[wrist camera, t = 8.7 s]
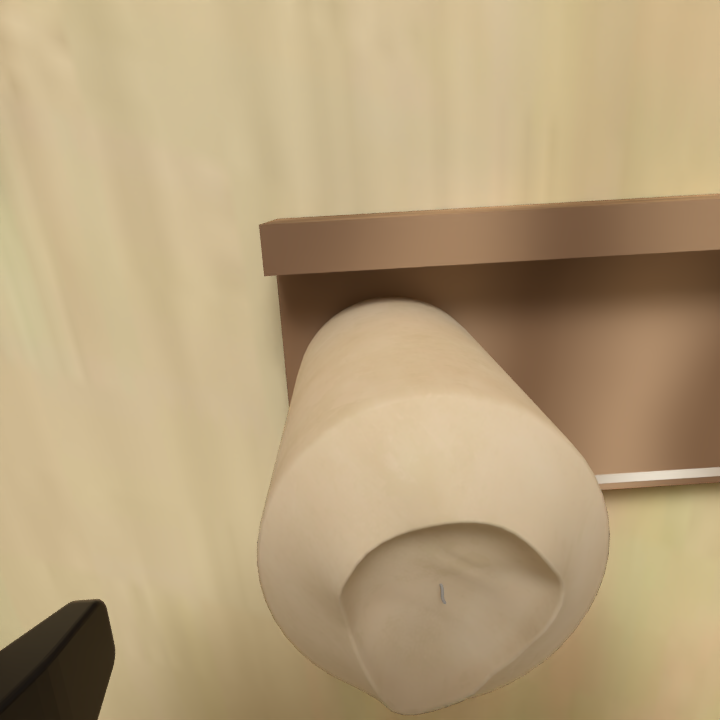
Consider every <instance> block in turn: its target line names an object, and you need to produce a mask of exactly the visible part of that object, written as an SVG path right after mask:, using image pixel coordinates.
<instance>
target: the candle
mask: <svg viewBox="0 0 720 720" xmlns="http://www.w3.org/2000/svg"><path fill="white" fill-rule="evenodd" d="M609 540H610V531H609V520H608V512H607V508H606V504H605V500H604V496H603V493H602V491H601V488H600V486H599V484H598V481H597V479H596V477H595V475H594V473H593V471H592V470H591V468H590V467H589V465H588V463H587V462H586V460H585V459H584V457H583V456H582V455H581V454H580V452H579V451H578V450H577V449H576V448H575V447H574V445H573V444H572V443H571V442H570V441H569V440H568V439H567V437H566V436H565V435H564V434H563V433H562V432H561V431H560V430H559V429H558V428H557V427H556V426H555V424H554V423H553V422H552V421H551V420H550V419H549V418H548V417H547V416H546V415H545V414H544V413H543V412H542V411H541V410H540V408H539V407H538V406H537V405H536V404H535V403H534V402H533V401H532V400H531V399H530V398H529V397H528V396H527V395H526V393H525V392H524V391H523V390H522V389H521V388H520V387H519V386H518V385H517V384H516V383H515V382H514V381H513V380H512V379H511V377H510V376H509V375H508V374H507V373H506V372H505V371H504V370H503V369H502V368H501V367H500V366H499V365H498V364H497V363H496V361H495V360H494V359H493V358H492V357H491V356H490V355H489V354H488V353H487V352H486V351H485V350H484V349H483V348H482V346H481V345H480V344H479V343H478V342H477V341H476V340H475V339H474V338H473V337H472V336H471V335H470V334H469V333H468V332H467V330H466V329H465V328H463V327H462V326H461V325H460V324H459V323H458V322H457V321H456V320H455V319H454V318H452V317H451V316H450V315H449V314H447V313H446V312H444V311H443V310H441V309H440V308H437V307H435V306H433V305H431V304H429V303H426V302H423V301H420V300H417V299H412V298H407V297H395V296H388V297H377V298H373V299H368V300H364V301H362V302H359V303H356V304H354V305H352V306H350V307H348V308H346V309H344V310H342V311H341V312H339V313H338V314H336V315H335V316H333V317H332V318H331V319H330V320H329V321H328V322H327V323H325V324H324V325H323V326H322V328H321V329H320V330H319V331H318V332H317V333H316V335H315V336H314V338H313V339H312V341H311V342H310V344H309V345H308V348H307V350H306V352H305V354H304V356H303V359H302V362H301V366H300V369H299V372H298V375H297V379H296V383H295V387H294V391H293V395H292V399H291V403H290V407H289V411H288V415H287V419H286V423H285V427H284V431H283V435H282V439H281V442H280V446H279V450H278V454H277V458H276V462H275V466H274V470H273V474H272V478H271V482H270V486H269V490H268V494H267V498H266V502H265V506H264V510H263V514H262V518H261V523H260V529H259V535H258V541H257V566H258V573H259V579H260V584H261V588H262V591H263V594H264V598H265V601H266V603H267V605H268V607H269V610H270V612H271V614H272V616H273V618H274V620H275V621H276V623H277V624H278V626H279V627H280V629H281V630H282V632H283V633H284V635H285V636H286V637H287V638H288V640H289V641H290V642H291V643H292V644H293V645H294V646H295V647H296V649H297V650H298V651H299V652H301V653H302V654H303V655H304V656H305V657H306V658H308V659H309V660H310V661H311V662H312V663H313V664H315V665H316V666H318V667H319V668H321V669H322V670H324V671H326V672H327V673H329V674H330V675H332V676H334V677H336V678H338V679H340V680H342V681H344V682H346V683H348V684H350V685H352V686H354V687H356V688H358V689H360V690H362V691H364V692H366V693H367V694H369V695H371V696H372V697H374V698H376V699H377V700H379V701H380V702H381V703H383V704H384V705H385V706H386V707H387V708H388V709H390V710H391V711H392V712H395V713H398V714H401V715H418V714H423V713H428V712H432V711H436V710H439V709H442V708H445V707H448V706H451V705H454V704H457V703H459V702H462V701H464V700H465V699H470V698H474V697H477V696H480V695H483V694H486V693H489V692H492V691H494V690H496V689H498V688H501V687H503V686H505V685H507V684H509V683H511V682H513V681H515V680H516V679H518V678H520V677H522V676H524V675H525V674H527V673H528V672H530V671H531V670H532V669H534V668H535V667H537V666H538V665H540V664H541V663H542V662H544V661H545V660H546V659H547V658H548V657H550V656H551V655H552V654H553V653H554V652H555V651H556V650H557V649H559V647H560V646H561V645H562V644H563V643H564V642H565V641H566V640H567V639H568V637H569V636H570V635H571V634H572V633H573V632H574V630H575V629H576V628H577V626H578V625H579V623H580V622H581V620H582V619H583V617H584V616H585V615H586V613H587V612H588V610H589V608H590V606H591V604H592V603H593V601H594V599H595V597H596V595H597V593H598V590H599V588H600V585H601V582H602V579H603V577H604V574H605V569H606V564H607V560H608V555H609Z"/></svg>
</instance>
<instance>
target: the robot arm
mask: <svg viewBox="0 0 720 720" xmlns="http://www.w3.org/2000/svg"><path fill="white" fill-rule="evenodd" d="M114 660H115V645H114V640H113V635H112V631H111V626H110V621H109V616H108V612H107V608H106V605H105V603H104V602H103V601H101V600H100V599H91V600H77V601H72V602H70V603H68V604H67V605H65V606H64V607H62V608H61V609H59V610H58V611H57V612H55V613H54V614H52V615H51V616H49V617H48V618H47V619H45V620H44V621H42V622H41V623H39V624H38V625H37V626H35V627H34V628H32V629H31V630H29V631H28V632H27V633H25V634H24V635H22V636H21V637H19V638H18V639H17V640H15V641H14V642H12V643H11V644H9V645H8V646H6V647H5V648H4V649H2V650H1V651H0V720H98V716H99V713H100V710H101V706H102V703H103V700H104V696H105V693H106V689H107V686H108V683H109V679H110V676H111V672H112V669H113V665H114Z"/></svg>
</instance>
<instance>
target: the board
mask: <svg viewBox="0 0 720 720" xmlns="http://www.w3.org/2000/svg"><path fill="white" fill-rule="evenodd" d="M259 229H260V239H261V248H262V258H263V268H264V276H273V275H277V284H278V295H279V305H280V316H281V326H282V336H283V347H284V357H285V368H286V378H287V389H288V399H289V407H290V403H291V399H292V395H293V391H294V387H295V383H296V379H297V375H298V372H299V369H300V366H301V362H302V359H303V356H304V354H305V352H306V350H307V348H308V345H309V344H310V342H311V341H312V339H313V338H314V336H315V335H316V333H317V332H318V331H319V330H320V329H321V328H322V326H323V325H324V324H325V323H327V322H328V321H329V320H330V319H331V318H332V317H333V316H335V315H336V314H338V313H339V312H341V311H342V310H344V309H346V308H348V307H350V306H352V305H354V304H356V303H359V302H362V301H364V300H368V299H373V298H377V297H388V296H395V297H407V298H412V299H417V300H420V301H423V302H426V303H429V304H431V305H433V306H435V307H437V308H440V309H441V310H443V311H444V312H446V313H447V314H449V315H450V316H451V317H452V318H454V319H455V320H456V321H457V322H458V323H459V324H460V325H461V326H462V327H463V328H465V329H466V330H467V332H468V333H469V334H470V335H471V336H472V337H473V338H474V339H475V340H476V341H477V342H478V343H479V344H480V345H481V346H482V348H483V349H484V350H485V351H486V352H487V353H488V354H489V355H490V356H491V357H492V358H493V359H494V360H495V361H496V363H497V364H498V365H499V366H500V367H501V368H502V369H503V370H504V371H505V372H506V373H507V374H508V375H509V376H510V377H511V379H512V380H513V381H514V382H515V383H516V384H517V385H518V386H519V387H520V388H521V389H522V390H523V391H524V392H525V393H526V395H527V396H528V397H529V398H530V399H531V400H532V401H533V402H534V403H535V404H536V405H537V406H538V407H539V408H540V410H541V411H542V412H543V413H544V414H545V415H546V416H547V417H548V418H549V419H550V420H551V421H552V422H553V423H554V424H555V426H556V427H557V428H558V429H559V430H560V431H561V432H562V433H563V434H564V435H565V436H566V437H567V439H568V440H569V441H570V442H571V443H572V444H573V445H574V447H575V448H576V449H577V450H578V451H579V452H580V454H581V455H582V456H583V457H584V459H585V460H586V462H587V463H588V465H589V467H590V468H591V470H592V471H593V473H594V475H595V477H596V479H597V481H598V484H599V486H600V488H601V490H607V489H623V488H638V487H654V486H669V485H685V484H700V483H716V482H720V194H706V195H689V196H671V197H654V198H636V199H619V200H601V201H583V202H566V203H548V204H531V205H513V206H495V207H478V208H460V209H443V210H425V211H408V212H390V213H372V214H355V215H337V216H320V217H302V218H284V219H276V220H273V221H270V222H266V223H263V224H260V225H259Z"/></svg>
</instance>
